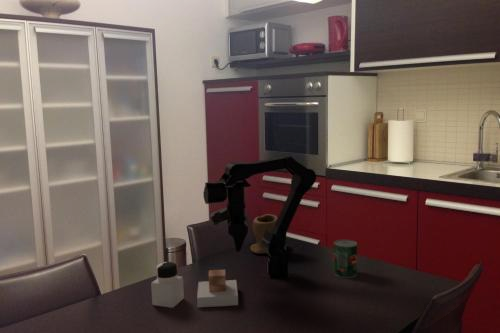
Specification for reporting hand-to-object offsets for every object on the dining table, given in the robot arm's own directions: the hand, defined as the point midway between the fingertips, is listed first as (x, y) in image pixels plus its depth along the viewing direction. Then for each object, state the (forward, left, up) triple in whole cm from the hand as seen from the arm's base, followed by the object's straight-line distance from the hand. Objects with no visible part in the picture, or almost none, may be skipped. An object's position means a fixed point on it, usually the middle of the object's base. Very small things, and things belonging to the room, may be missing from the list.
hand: (237, 246), depth 151 cm
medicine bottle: (+22, +13, -12) cm, 28 cm away
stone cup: (-14, -29, -12) cm, 34 cm away
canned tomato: (-37, -2, -12) cm, 39 cm away
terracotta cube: (+7, +12, -9) cm, 17 cm away
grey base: (+7, +12, -12) cm, 18 cm away
